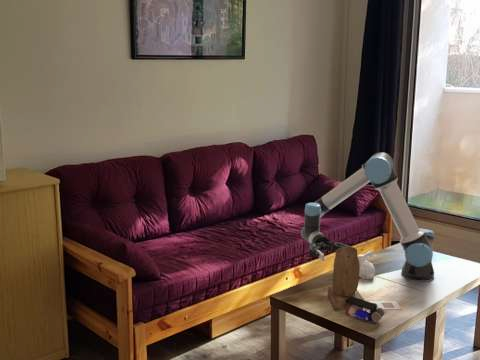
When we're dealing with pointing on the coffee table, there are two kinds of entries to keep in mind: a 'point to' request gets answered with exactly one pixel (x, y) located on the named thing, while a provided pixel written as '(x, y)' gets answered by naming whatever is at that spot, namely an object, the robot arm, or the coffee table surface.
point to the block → (346, 271)
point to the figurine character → (354, 311)
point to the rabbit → (366, 266)
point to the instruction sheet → (386, 305)
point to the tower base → (341, 300)
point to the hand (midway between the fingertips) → (337, 256)
